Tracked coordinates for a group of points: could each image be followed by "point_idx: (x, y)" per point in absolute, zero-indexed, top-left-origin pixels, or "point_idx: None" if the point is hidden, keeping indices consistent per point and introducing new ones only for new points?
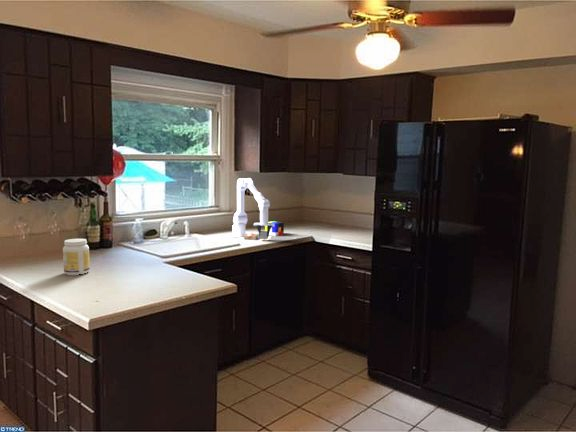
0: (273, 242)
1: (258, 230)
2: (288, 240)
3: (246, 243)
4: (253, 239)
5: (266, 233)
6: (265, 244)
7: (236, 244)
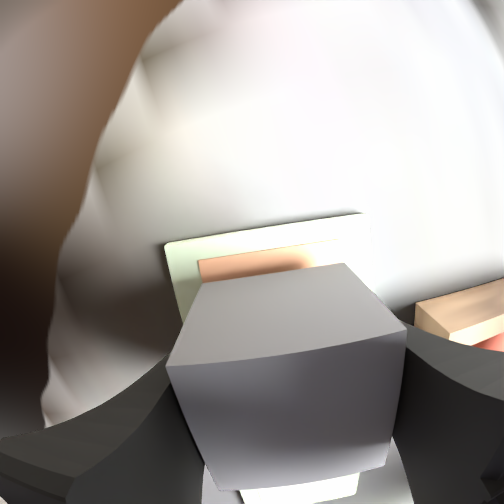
0: (100, 256)
1: (471, 352)
2: (44, 411)
3: (450, 56)
4: (445, 302)
5: (191, 343)
6: (156, 49)
7: (493, 4)
